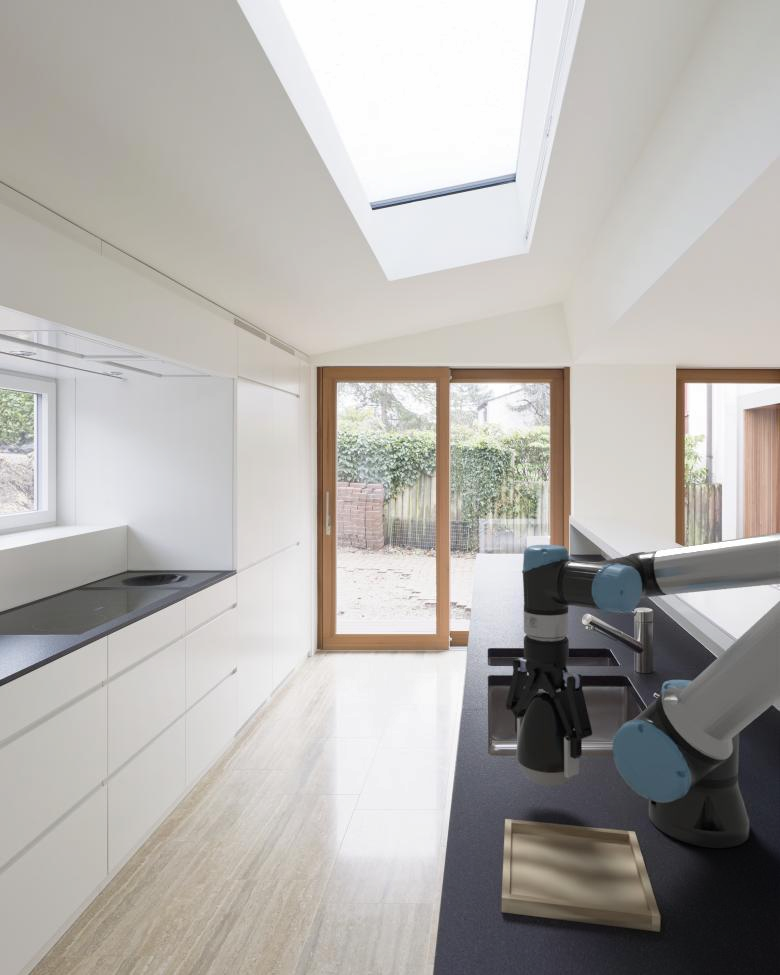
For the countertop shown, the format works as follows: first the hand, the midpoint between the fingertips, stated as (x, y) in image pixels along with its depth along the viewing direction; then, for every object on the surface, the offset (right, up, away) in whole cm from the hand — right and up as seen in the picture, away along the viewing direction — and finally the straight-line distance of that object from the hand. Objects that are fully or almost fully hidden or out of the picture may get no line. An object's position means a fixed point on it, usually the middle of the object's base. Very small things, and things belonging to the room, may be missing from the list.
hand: (547, 763), depth 117 cm
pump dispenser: (0, -3, 0) cm, 3 cm away
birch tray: (0, -9, -19) cm, 21 cm away
